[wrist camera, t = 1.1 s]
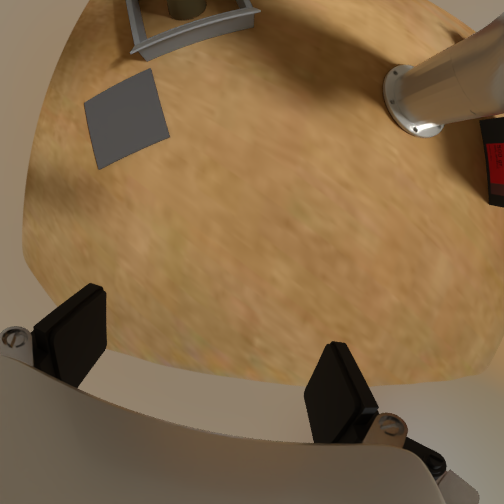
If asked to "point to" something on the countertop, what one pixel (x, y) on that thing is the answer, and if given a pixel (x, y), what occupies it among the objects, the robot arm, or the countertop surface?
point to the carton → (187, 29)
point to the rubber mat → (125, 119)
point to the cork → (185, 8)
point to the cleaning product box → (494, 158)
